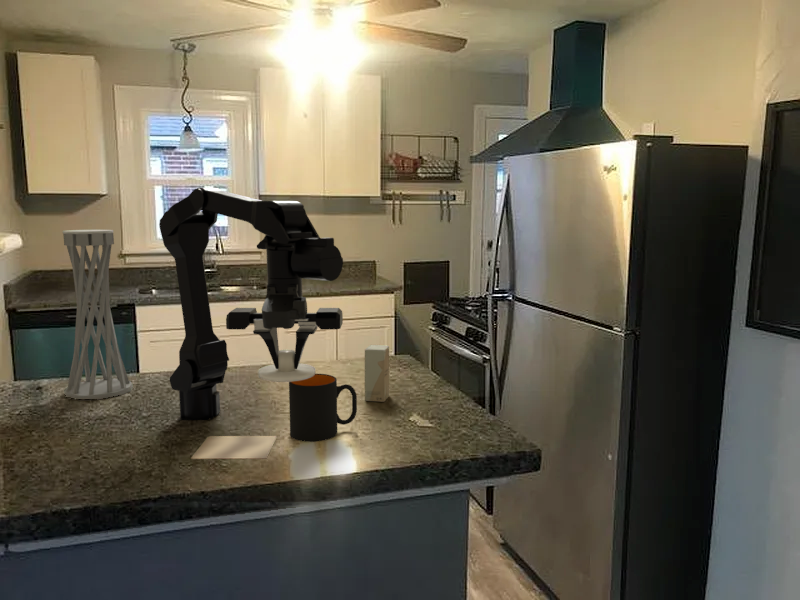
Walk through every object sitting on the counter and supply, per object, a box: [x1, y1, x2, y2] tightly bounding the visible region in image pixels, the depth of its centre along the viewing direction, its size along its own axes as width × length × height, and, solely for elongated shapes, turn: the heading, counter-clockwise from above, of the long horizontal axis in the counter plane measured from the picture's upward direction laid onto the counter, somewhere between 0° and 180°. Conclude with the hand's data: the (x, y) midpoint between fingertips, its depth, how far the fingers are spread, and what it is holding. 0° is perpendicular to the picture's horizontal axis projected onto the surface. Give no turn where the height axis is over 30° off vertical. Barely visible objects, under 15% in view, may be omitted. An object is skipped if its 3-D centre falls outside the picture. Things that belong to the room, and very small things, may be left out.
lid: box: [257, 349, 316, 383], centre depth 110 cm, size 10×10×4 cm
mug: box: [288, 373, 358, 443], centre depth 115 cm, size 8×12×10 cm
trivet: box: [190, 435, 278, 460], centre depth 108 cm, size 12×10×1 cm
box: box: [364, 344, 390, 403], centre depth 137 cm, size 5×4×11 cm
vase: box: [62, 229, 133, 400], centre depth 140 cm, size 14×13×35 cm
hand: (286, 368), depth 110 cm, fingers closed on lid, 3 cm apart
